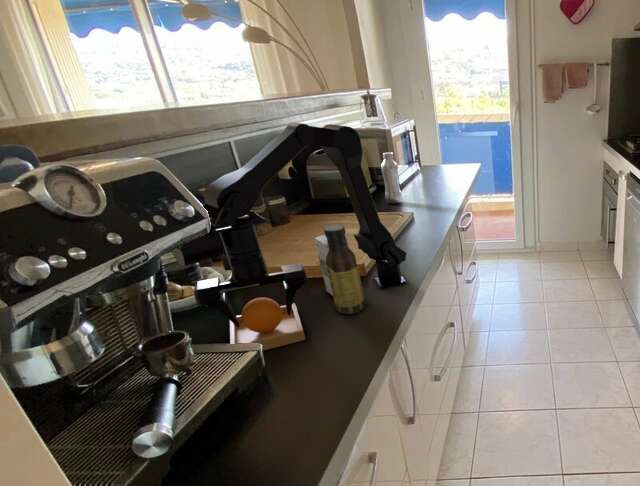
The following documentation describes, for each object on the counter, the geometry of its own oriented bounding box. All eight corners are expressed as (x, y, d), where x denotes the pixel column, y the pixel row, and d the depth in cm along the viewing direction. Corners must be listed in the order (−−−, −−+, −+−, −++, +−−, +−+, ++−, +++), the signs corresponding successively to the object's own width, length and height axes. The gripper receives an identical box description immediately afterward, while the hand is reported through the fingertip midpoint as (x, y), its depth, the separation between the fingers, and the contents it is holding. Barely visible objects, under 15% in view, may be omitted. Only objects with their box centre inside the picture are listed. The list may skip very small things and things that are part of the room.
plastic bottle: (400, 205, 181) (394, 154, 172) (383, 205, 181) (376, 154, 173) (404, 201, 187) (398, 151, 178) (388, 200, 187) (381, 151, 178)
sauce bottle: (342, 302, 106) (326, 221, 97) (369, 302, 106) (355, 222, 97) (331, 315, 100) (313, 231, 91) (359, 316, 100) (343, 231, 91)
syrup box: (358, 292, 111) (348, 236, 104) (335, 300, 107) (323, 243, 100) (348, 285, 114) (337, 231, 108) (325, 292, 110) (313, 237, 104)
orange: (288, 332, 92) (279, 302, 88) (248, 343, 89) (237, 312, 85) (284, 317, 97) (275, 288, 94) (246, 326, 94) (236, 296, 90)
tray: (305, 339, 91) (303, 330, 90) (233, 358, 85) (230, 348, 84) (297, 311, 101) (295, 303, 100) (232, 326, 95) (229, 317, 94)
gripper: (292, 229, 96) (307, 294, 102) (186, 245, 87) (210, 315, 93) (299, 245, 87) (315, 314, 94) (182, 264, 78) (209, 339, 85)
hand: (264, 320), depth 92 cm, fingers open, 9 cm apart
